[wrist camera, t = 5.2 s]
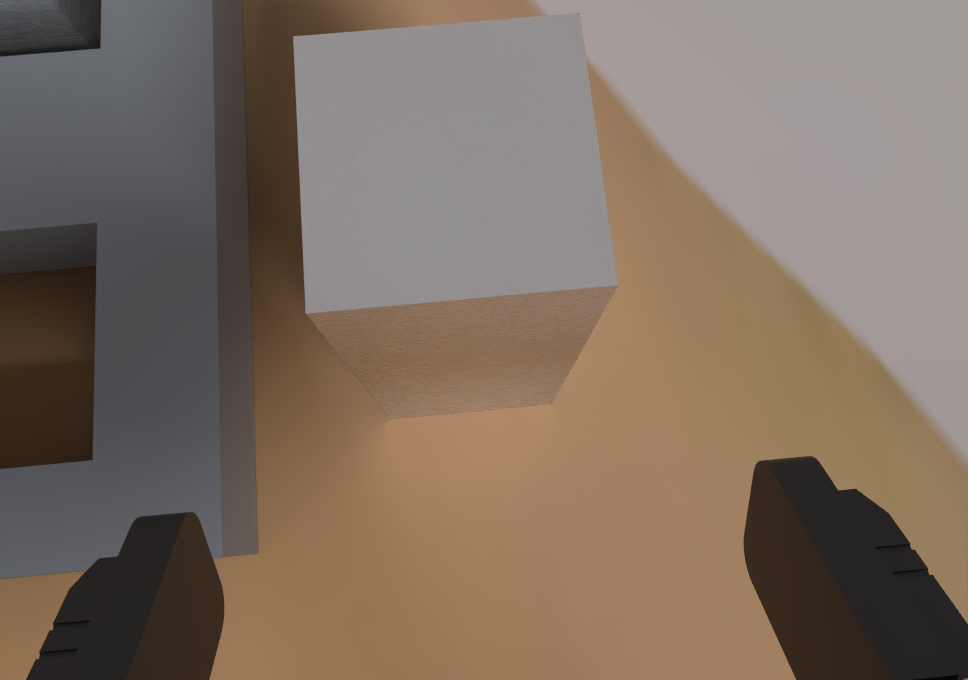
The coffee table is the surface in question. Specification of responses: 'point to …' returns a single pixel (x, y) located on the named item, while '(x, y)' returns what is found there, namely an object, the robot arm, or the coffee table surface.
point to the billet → (453, 209)
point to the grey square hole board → (138, 276)
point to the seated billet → (49, 26)
